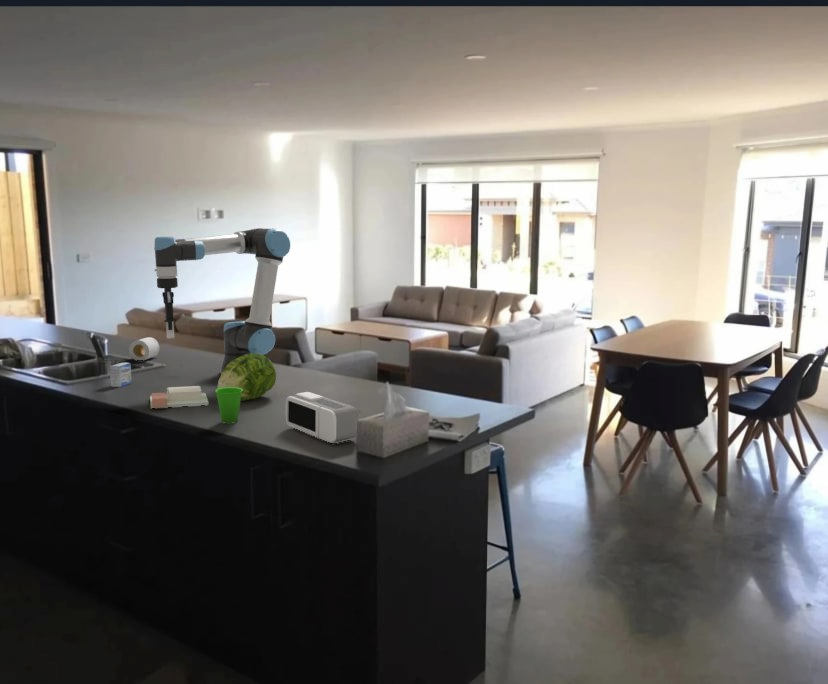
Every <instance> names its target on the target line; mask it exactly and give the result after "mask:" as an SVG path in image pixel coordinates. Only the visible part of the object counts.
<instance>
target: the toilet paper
mask: <svg viewBox="0 0 828 684" xmlns="http://www.w3.org/2000/svg"><path fill="white" fill-rule="evenodd" d="M128 351H129V355H130V357H131V358H132V359H133V360H135V361H137V360H143V361H142V362H144V361H146V360H149V359H151V358H154V357H156V356H157V355H158V354H159V351H160V345H159V342H158V341H157V339H155V338H154V337H149V336H148V337H144V338H140V339H138V340H135V341H133V342H131V344H130V345H129V350H128Z"/></svg>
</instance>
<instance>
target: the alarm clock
mask: <svg viewBox="0 0 828 684" xmlns="http://www.w3.org/2000/svg"><path fill="white" fill-rule="evenodd" d="M284 403H285V405H284V406H285V422H286V425H287V426H289V427H291V428H293V429H294V428H295V429H294V430H296V429H298V430H300V431H299V432H301V431H303V432H305V433H304V434H306V433H308V434H310V435H309V436H311V435H312V436H311V437H313V436H315V437H314V438H316V437H317V438H316V439H318V438H320V439H322V440H321V441H323V440H325V441H327V442H326V443H328V442H330V443H337V442H340V441H345V440H350V439H351V440H352V439H354V438H356V437H357V436H356V431H357V422H358V423H359V412H358V410H357V408H356V407H355V406H353V405H351V404H348V403H344V402H341V401H338V400H334V399H332V398H329V397H326V396H322V395H320V394H316V393H313V392H311V391H305V392H298V393H295V394H294V395H289V396H287V397H286V399H285V402H284ZM298 430H297V431H298ZM303 432H302V433H303ZM308 434H307V435H308ZM320 439H319V440H320ZM325 441H324V442H325ZM330 443H329V444H330ZM337 444H338V443H337Z"/></svg>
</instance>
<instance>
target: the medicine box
mask: <svg viewBox="0 0 828 684" xmlns="http://www.w3.org/2000/svg"><path fill="white" fill-rule="evenodd" d="M131 366H132V365H131V363H130V362H119V363H116V364H114V365H113V364H112V365H110V366H109V371H110V372H109V376H110V377H109V378H110V387H112V388H122V387H125V386H127V385H131V384H132V367H131Z"/></svg>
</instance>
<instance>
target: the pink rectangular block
mask: <svg viewBox="0 0 828 684" xmlns="http://www.w3.org/2000/svg"><path fill="white" fill-rule="evenodd" d="M166 395H167V392H152V393H151V396H152V407H164V406H167V396H166Z"/></svg>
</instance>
